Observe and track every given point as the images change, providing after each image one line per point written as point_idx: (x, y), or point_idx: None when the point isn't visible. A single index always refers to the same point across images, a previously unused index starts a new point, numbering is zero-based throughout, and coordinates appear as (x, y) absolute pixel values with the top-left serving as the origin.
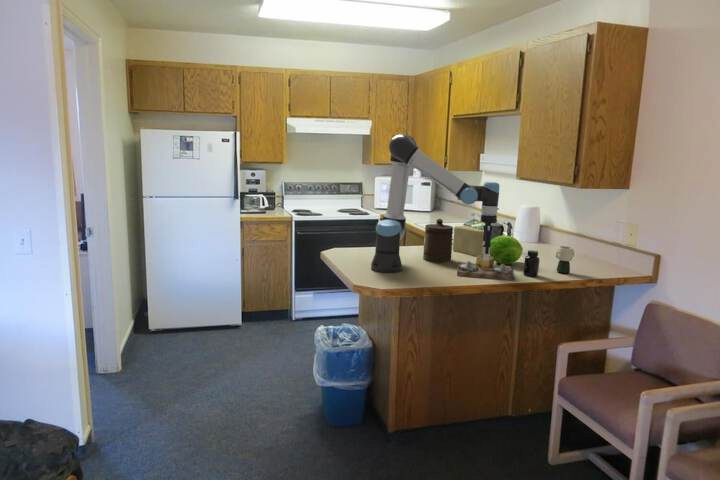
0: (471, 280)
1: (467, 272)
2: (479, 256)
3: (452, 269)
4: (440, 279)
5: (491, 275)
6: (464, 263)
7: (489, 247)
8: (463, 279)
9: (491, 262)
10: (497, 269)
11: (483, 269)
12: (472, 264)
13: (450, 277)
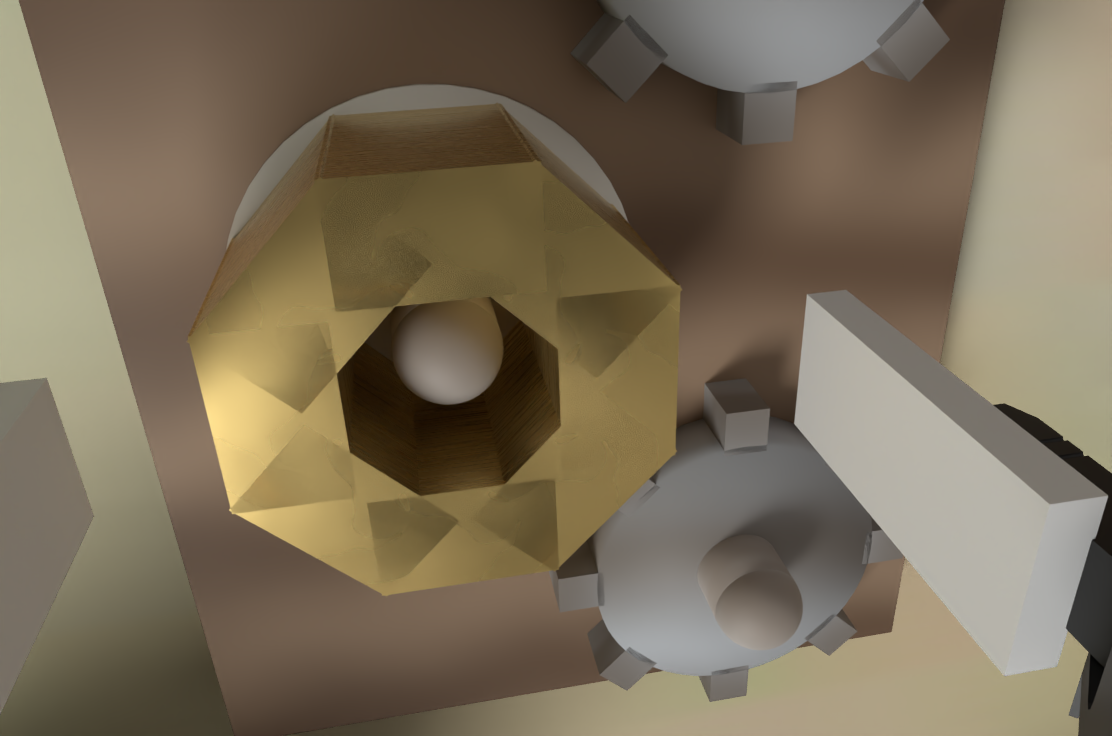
0: (1079, 393)
1: None
2: (443, 533)
3: (522, 697)
4: (1066, 698)
5: (967, 121)
6: (283, 644)
7: (1092, 505)
8: None
9: (587, 196)
10: (861, 14)
11: None
12: None
13: (963, 634)
